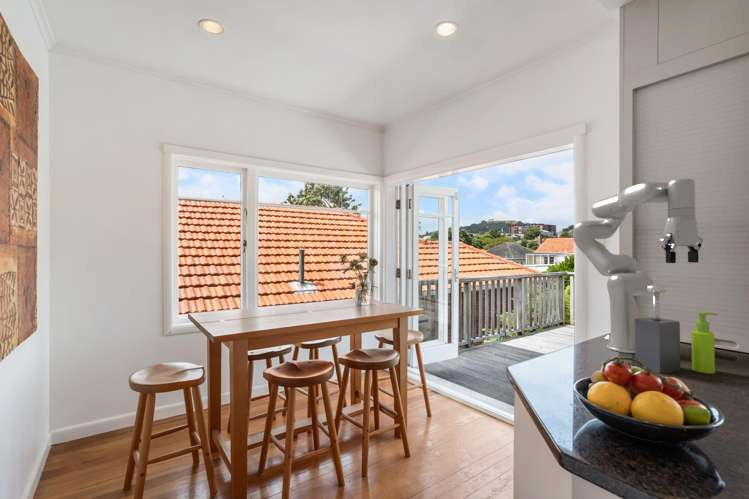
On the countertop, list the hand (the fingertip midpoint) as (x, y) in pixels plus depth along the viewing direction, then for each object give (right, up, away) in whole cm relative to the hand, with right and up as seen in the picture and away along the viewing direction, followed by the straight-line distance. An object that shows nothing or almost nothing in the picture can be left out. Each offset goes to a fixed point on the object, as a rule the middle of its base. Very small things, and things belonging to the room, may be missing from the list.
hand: (682, 262), depth 132 cm
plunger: (-9, -27, -1) cm, 29 cm away
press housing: (-9, -37, -1) cm, 38 cm away
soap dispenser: (+4, -37, -4) cm, 37 cm away
